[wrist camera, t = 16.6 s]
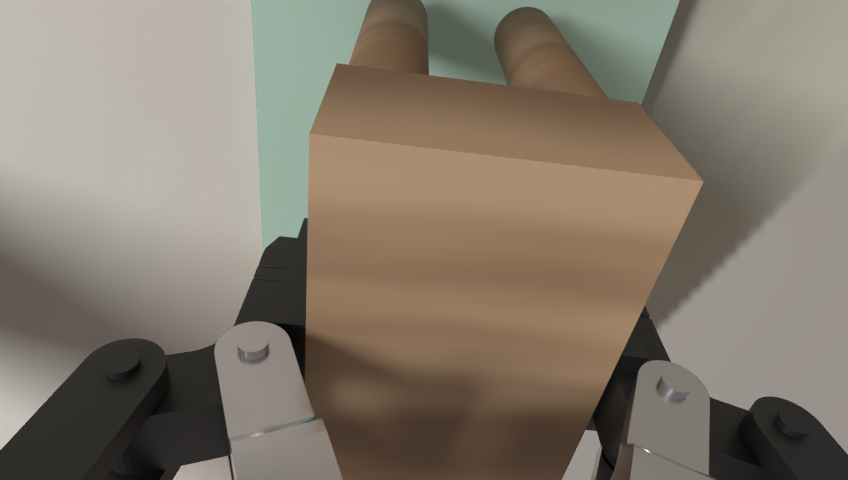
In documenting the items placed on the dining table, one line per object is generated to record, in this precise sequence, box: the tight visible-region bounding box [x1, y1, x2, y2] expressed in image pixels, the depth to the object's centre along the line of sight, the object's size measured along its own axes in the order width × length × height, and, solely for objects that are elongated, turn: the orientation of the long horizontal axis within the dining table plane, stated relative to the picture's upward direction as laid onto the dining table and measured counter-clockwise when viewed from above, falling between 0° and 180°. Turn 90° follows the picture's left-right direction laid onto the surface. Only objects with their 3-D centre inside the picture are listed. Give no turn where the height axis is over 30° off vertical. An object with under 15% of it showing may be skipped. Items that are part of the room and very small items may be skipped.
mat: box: [252, 0, 680, 252], centre depth 20 cm, size 13×13×1 cm
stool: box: [305, 0, 704, 480], centre depth 15 cm, size 10×6×11 cm
